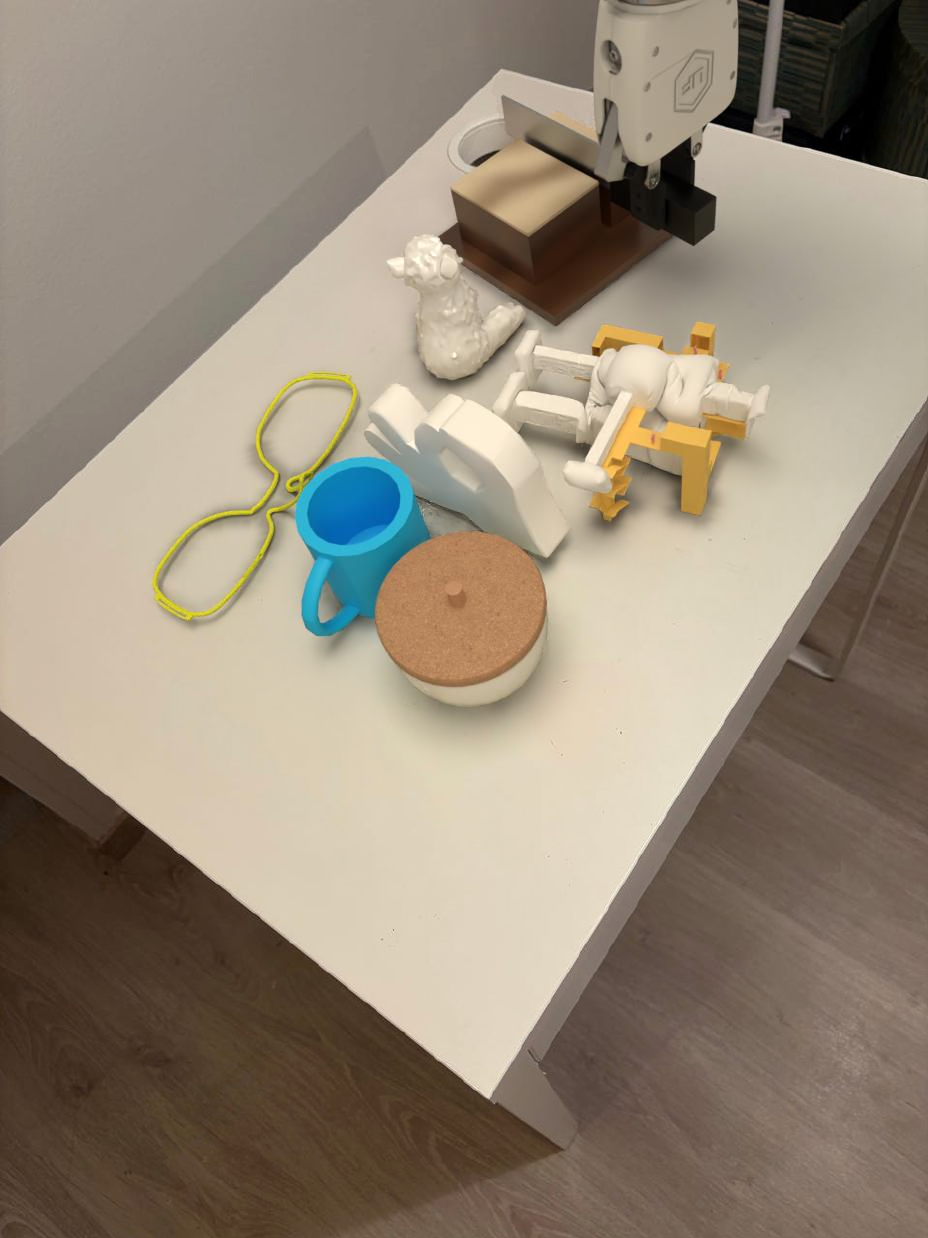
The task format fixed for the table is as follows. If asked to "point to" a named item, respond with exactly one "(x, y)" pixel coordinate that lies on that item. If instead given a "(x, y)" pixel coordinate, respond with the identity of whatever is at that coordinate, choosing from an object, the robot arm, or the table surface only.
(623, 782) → the table surface
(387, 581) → the trinket box
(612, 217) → the wooden step piece
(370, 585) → the mug
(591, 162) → the tall black pillar
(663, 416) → the figure
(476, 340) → the white creature statuette
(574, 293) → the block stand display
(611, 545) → the table surface
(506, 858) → the table surface
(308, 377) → the glasses
